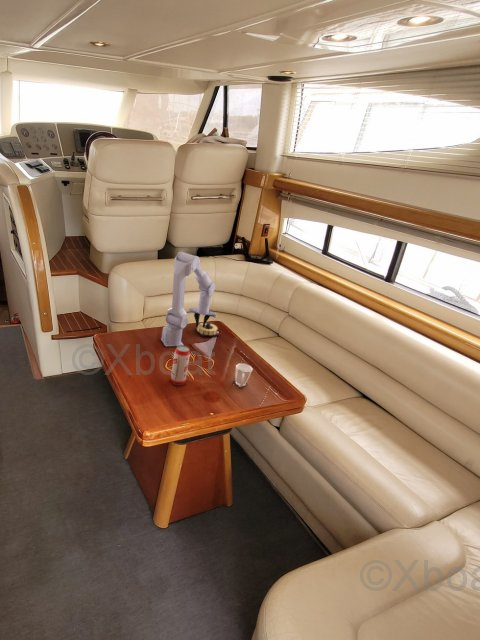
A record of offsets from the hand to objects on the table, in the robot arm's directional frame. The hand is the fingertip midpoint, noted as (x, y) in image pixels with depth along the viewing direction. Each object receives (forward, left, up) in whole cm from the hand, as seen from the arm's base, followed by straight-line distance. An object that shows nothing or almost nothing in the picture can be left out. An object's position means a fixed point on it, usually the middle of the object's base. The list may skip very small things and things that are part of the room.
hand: (200, 327), depth 206 cm
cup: (-3, -52, -3) cm, 52 cm away
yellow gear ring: (+3, -2, -1) cm, 4 cm away
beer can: (-29, -46, -3) cm, 55 cm away
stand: (+3, -2, -3) cm, 5 cm away
